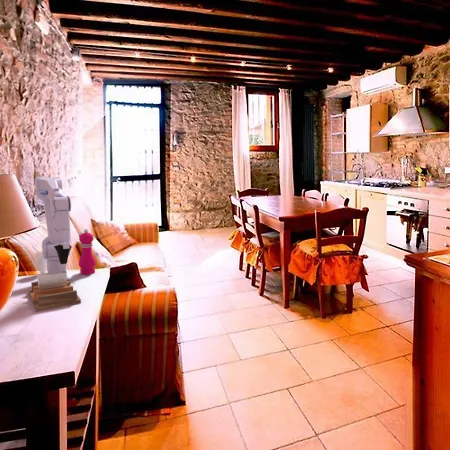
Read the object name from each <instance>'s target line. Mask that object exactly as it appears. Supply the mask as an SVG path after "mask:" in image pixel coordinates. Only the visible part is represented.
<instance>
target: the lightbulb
mask: <svg viewBox="0 0 450 450" xmlns="http://www.w3.org/2000/svg"><path fill="white" fill-rule="evenodd" d="M33 259H34V261H35V262H36V264H37V267H38V270H39V274H43V273H47V259H44V258H43V254H42V248H41V249H38V250H37V251H35V253H34V255H33Z"/></svg>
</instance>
